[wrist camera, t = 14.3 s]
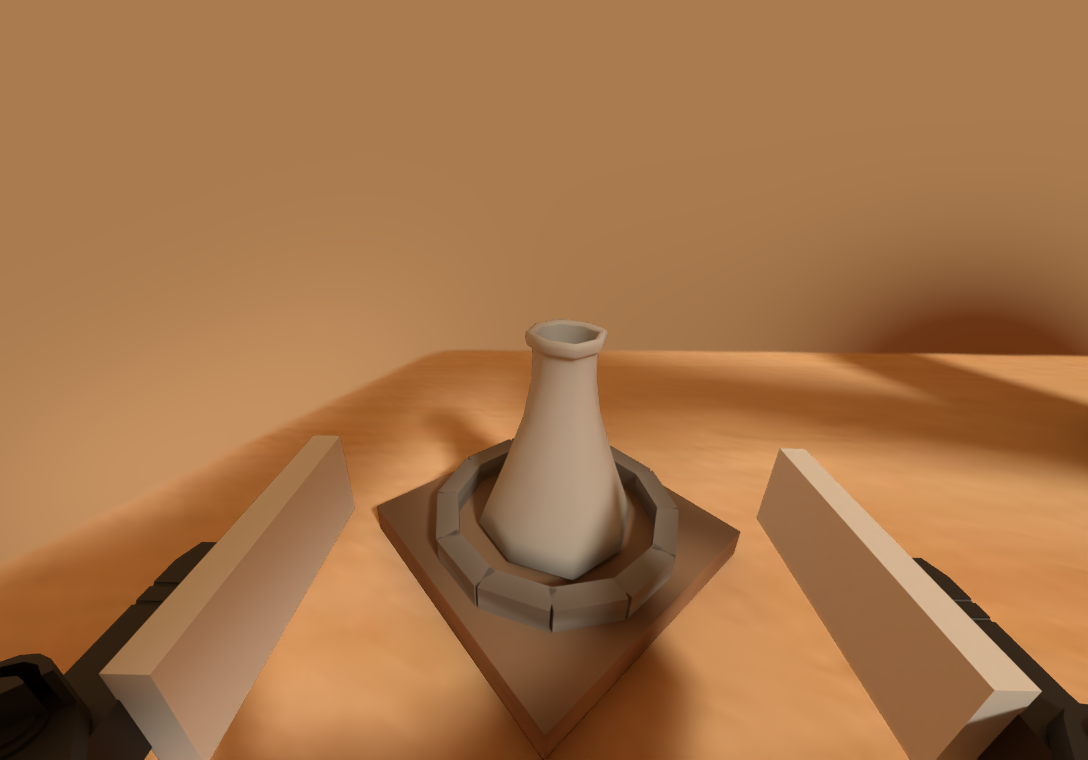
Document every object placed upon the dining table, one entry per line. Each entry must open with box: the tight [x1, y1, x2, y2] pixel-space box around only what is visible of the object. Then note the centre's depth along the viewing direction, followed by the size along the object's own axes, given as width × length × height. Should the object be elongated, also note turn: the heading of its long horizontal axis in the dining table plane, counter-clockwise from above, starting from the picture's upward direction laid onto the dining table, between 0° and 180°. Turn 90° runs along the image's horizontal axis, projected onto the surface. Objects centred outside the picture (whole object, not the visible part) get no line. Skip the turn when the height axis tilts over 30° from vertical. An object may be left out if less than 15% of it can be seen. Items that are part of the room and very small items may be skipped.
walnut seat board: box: [377, 438, 740, 760], centre depth 21 cm, size 13×13×3 cm
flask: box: [479, 319, 629, 580], centre depth 19 cm, size 7×7×10 cm
